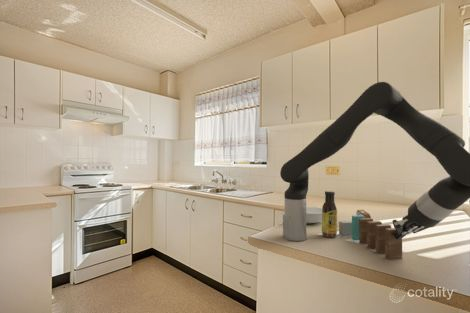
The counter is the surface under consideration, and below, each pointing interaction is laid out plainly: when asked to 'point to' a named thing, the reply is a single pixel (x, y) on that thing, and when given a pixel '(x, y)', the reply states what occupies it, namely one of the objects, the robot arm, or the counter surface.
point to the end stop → (345, 228)
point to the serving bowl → (313, 214)
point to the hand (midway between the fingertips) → (396, 236)
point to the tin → (363, 213)
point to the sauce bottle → (329, 215)
